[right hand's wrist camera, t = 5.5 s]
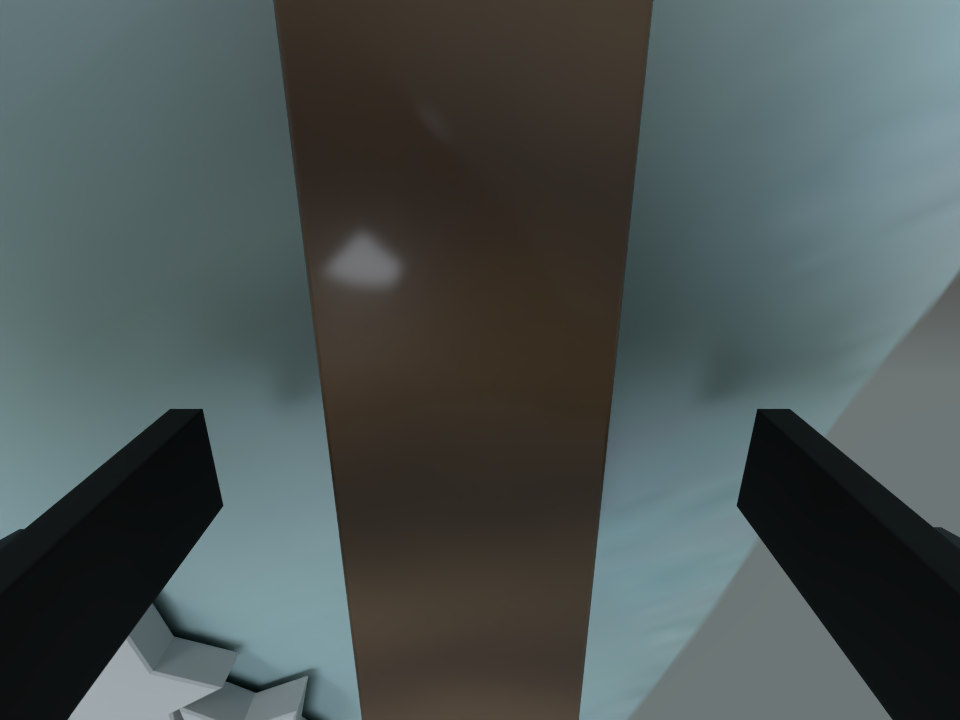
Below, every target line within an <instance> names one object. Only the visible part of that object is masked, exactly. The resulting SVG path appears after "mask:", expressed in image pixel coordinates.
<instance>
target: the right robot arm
mask: <svg viewBox="0 0 960 720" xmlns="http://www.w3.org/2000/svg"><path fill="white" fill-rule="evenodd" d="M222 507H223V502H222V498H221V493H220V488H219V483H218V479H217V474H216V469H215V465H214V460H213V455H212V451H211V446H210V441H209V437H208V432H207V427H206V423H205V418H204V413H203V409H170V410H168V411H167V412H166V413H165V414H164V415H162V416H161V417H160V418H159V419H158V420H156V421H155V422H154V423H153V424H151V425H150V426H149V427H148V428H147V429H145V430H144V431H143V432H142V433H141V434H139V435H138V436H137V437H136V438H134V439H133V440H132V441H131V442H130V443H128V444H127V445H126V446H125V447H124V448H122V449H121V450H120V451H119V452H117V453H116V454H115V455H114V456H113V457H111V458H110V459H109V460H108V461H107V462H105V463H104V464H103V465H102V466H101V467H99V468H98V469H97V470H96V471H94V472H93V473H92V474H91V475H90V476H88V477H87V478H86V479H85V480H84V481H82V482H81V483H80V484H79V485H77V486H76V487H75V488H74V489H73V490H71V491H70V492H69V493H68V494H67V495H65V496H64V497H63V498H62V499H60V500H59V501H58V502H57V503H56V504H54V505H53V506H52V507H51V508H50V509H48V510H47V511H46V512H45V513H44V514H42V515H41V516H40V517H39V518H37V519H36V520H35V521H34V522H33V523H31V524H30V525H29V526H28V527H27V528H25V529H19V530H17V531H16V532H14V533H12V534H10V535H8V536H6V537H5V538H3V539H1V540H0V720H68V718H69V717H70V715H71V714H72V713H73V711H74V710H75V709H76V707H77V706H78V704H79V703H80V702H81V700H82V699H83V698H84V696H85V695H86V693H87V692H88V691H89V689H90V688H91V687H92V685H93V684H94V682H95V681H96V680H97V678H98V677H99V676H100V674H101V673H102V672H103V670H104V669H105V667H106V666H107V665H108V663H109V662H110V661H111V659H112V658H113V656H114V655H115V654H116V652H117V651H118V650H119V648H120V647H121V645H122V644H123V643H124V641H125V640H126V639H127V637H128V636H129V634H130V633H131V632H132V630H133V629H134V628H135V626H136V625H137V623H138V622H139V621H140V619H141V618H142V617H143V615H144V614H145V613H146V611H147V610H148V608H149V607H150V606H151V604H152V603H153V602H154V600H155V599H156V597H157V596H158V595H159V593H160V592H161V591H162V589H163V588H164V586H165V585H166V584H167V582H168V581H169V580H170V578H171V577H172V575H173V574H174V573H175V571H176V570H177V569H178V567H179V566H180V564H181V563H182V562H183V560H184V559H185V558H186V556H187V555H188V554H189V552H190V551H191V549H192V548H193V547H194V545H195V544H196V543H197V541H198V540H199V538H200V537H201V536H202V534H203V533H204V532H205V530H206V529H207V527H208V526H209V525H210V523H211V522H212V521H213V519H214V518H215V516H216V515H217V514H218V512H219V511H220V510H221V508H222ZM737 507H738V508H739V510H740V511H741V512H742V514H743V515H744V516H745V518H746V519H747V521H748V522H749V523H750V525H751V526H752V527H753V529H754V530H755V532H756V533H757V534H758V536H759V537H760V538H761V540H762V541H763V543H764V544H765V545H766V547H767V548H768V549H769V551H770V552H771V554H772V555H773V556H774V558H775V559H776V560H777V562H778V563H779V564H780V566H781V567H782V569H783V570H784V571H785V573H786V574H787V575H788V577H789V578H790V580H791V581H792V582H793V584H794V585H795V586H796V588H797V589H798V591H799V592H800V593H801V595H802V596H803V597H804V599H805V600H806V602H807V603H808V604H809V606H810V607H811V608H812V610H813V611H814V613H815V614H816V615H817V617H818V618H819V619H820V621H821V622H822V623H823V625H824V626H825V628H826V629H827V630H828V632H829V633H830V634H831V636H832V637H833V639H834V640H835V641H836V643H837V644H838V645H839V647H840V648H841V649H842V651H843V652H844V654H845V655H846V656H847V658H848V659H849V661H850V662H851V663H852V665H853V666H854V667H855V669H856V670H857V672H858V673H859V674H860V676H861V677H862V678H863V680H864V681H865V682H866V684H867V685H868V687H869V688H870V689H871V691H872V692H873V693H874V695H875V696H876V697H877V699H878V700H879V702H880V703H881V704H882V706H883V707H884V709H885V710H886V711H887V713H888V714H889V715H890V717H891V718H892V719H893V720H960V537H958V536H956V535H954V534H952V533H950V532H949V531H947V530H945V529H943V528H941V527H932V526H931V525H930V524H929V523H927V522H926V521H925V520H924V519H923V518H921V517H920V516H919V515H918V514H916V513H915V512H914V511H913V510H912V509H910V508H909V507H908V506H907V505H905V504H904V503H903V502H902V501H901V500H899V499H898V498H897V497H896V496H895V495H893V494H892V493H891V492H890V491H889V490H887V489H886V488H885V487H884V486H883V485H881V484H880V483H879V482H878V481H876V480H875V479H874V478H873V477H872V476H870V475H869V474H868V473H867V472H865V471H864V470H863V469H862V468H861V467H859V466H858V465H857V464H856V463H855V462H853V461H852V460H851V459H850V458H849V457H847V456H846V455H845V454H844V453H843V452H841V451H840V450H839V449H838V448H836V447H835V446H834V445H833V444H832V443H830V442H829V441H828V440H827V439H826V438H824V437H823V436H822V435H821V434H819V433H818V432H817V431H816V430H815V429H813V428H812V427H811V426H810V425H809V424H807V423H806V422H805V421H804V420H802V419H801V418H800V417H799V416H798V415H796V414H795V413H794V412H793V411H792V410H790V409H757V413H756V418H755V423H754V427H753V432H752V437H751V441H750V446H749V451H748V455H747V460H746V465H745V469H744V474H743V479H742V483H741V488H740V493H739V498H738V502H737Z"/></svg>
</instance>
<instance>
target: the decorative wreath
mask: <svg viewBox="0 0 960 720" xmlns="http://www.w3.org/2000/svg"><path fill="white" fill-rule="evenodd" d="M237 655H238V653H237V652H235V651H231V650H227V649H223V648H218V647H214V646H210V645H206V644H202V643H198V642H194V641H190V640H186V639H182V638H178V637H174V636H173V635H172V633H171V631H170V630H169V628H168V627H167V625H166V624H165V622H164V621H163V619H162V617H161V616H160V614H159V613H158V611H157V610H156V608H155V606H154V605H153V603H152V604H151V606H150V607H149V608H148V610H147V611H146V613H145V614H144V615H143V617H142V618H141V619H140V621H139V622H138V623H137V625H136V626H135V628H134V629H133V630H132V632H131V633H130V634H129V636H128V637H127V639H126V640H125V641H124V643H123V644H122V645H121V647H120V648H119V650H118V651H117V652H116V654H115V655H114V656H113V658H112V659H111V661H110V662H109V663H108V665H107V666H106V667H105V669H104V670H103V672H102V673H101V674H100V676H99V677H98V678H97V680H96V681H95V682H94V684H93V685H92V687H91V688H90V689H89V691H88V692H87V693H86V695H85V696H84V698H83V699H82V700H81V702H80V703H79V704H78V706H77V707H76V709H75V710H74V711H73V713H72V714H71V715H70V720H307V719H305V718H304V717H302V710H303V704H304V698H305V692H306V686H307V680H308V676H305V677H302V678H299V679H296V680H293V681H290V682H287V683H284V684H281V685H278V686H276V687H273V688H270V689H267V690H264V691H261V692H258V693H255V692H252V691H250V690H247V689H245V688H242V687H239V686H237V685H234V684H231V683H229V682H226V679H227V677H228V675H229V672H230V670H231V668H232V666H233V664H234V662H235V660H236V658H237Z"/></svg>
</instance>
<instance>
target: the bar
mask: <svg viewBox="0 0 960 720" xmlns="http://www.w3.org/2000/svg"><path fill="white" fill-rule="evenodd" d="M273 2H274V10H275V18H276V26H277V34H278V42H279V51H280V59H281V67H282V75H283V83H284V91H285V99H286V107H287V115H288V124H289V132H290V140H291V148H292V156H293V164H294V172H295V180H296V189H297V197H298V205H299V213H300V221H301V229H302V237H303V245H304V253H305V262H306V270H307V278H308V286H309V294H310V302H311V310H312V318H313V326H314V335H315V343H316V351H317V359H318V367H319V375H320V383H321V391H322V400H323V408H324V416H325V424H326V432H327V440H328V448H329V456H330V464H331V473H332V481H333V489H334V497H335V505H336V513H337V521H338V529H339V538H340V546H341V554H342V562H343V570H344V578H345V586H346V594H347V602H348V611H349V619H350V627H351V635H352V643H353V651H354V659H355V667H356V675H357V684H358V692H359V700H360V708H361V716H362V720H579V713H580V703H581V693H582V684H583V674H584V664H585V655H586V645H587V635H588V626H589V616H590V606H591V597H592V587H593V577H594V568H595V558H596V548H597V538H598V529H599V519H600V509H601V500H602V490H603V480H604V471H605V461H606V451H607V442H608V432H609V422H610V413H611V403H612V393H613V384H614V374H615V364H616V355H617V345H618V335H619V326H620V316H621V306H622V296H623V287H624V277H625V267H626V258H627V248H628V238H629V229H630V219H631V209H632V200H633V190H634V180H635V171H636V161H637V151H638V142H639V132H640V122H641V113H642V103H643V93H644V84H645V74H646V64H647V54H648V45H649V35H650V25H651V16H652V6H653V0H273Z"/></svg>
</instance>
